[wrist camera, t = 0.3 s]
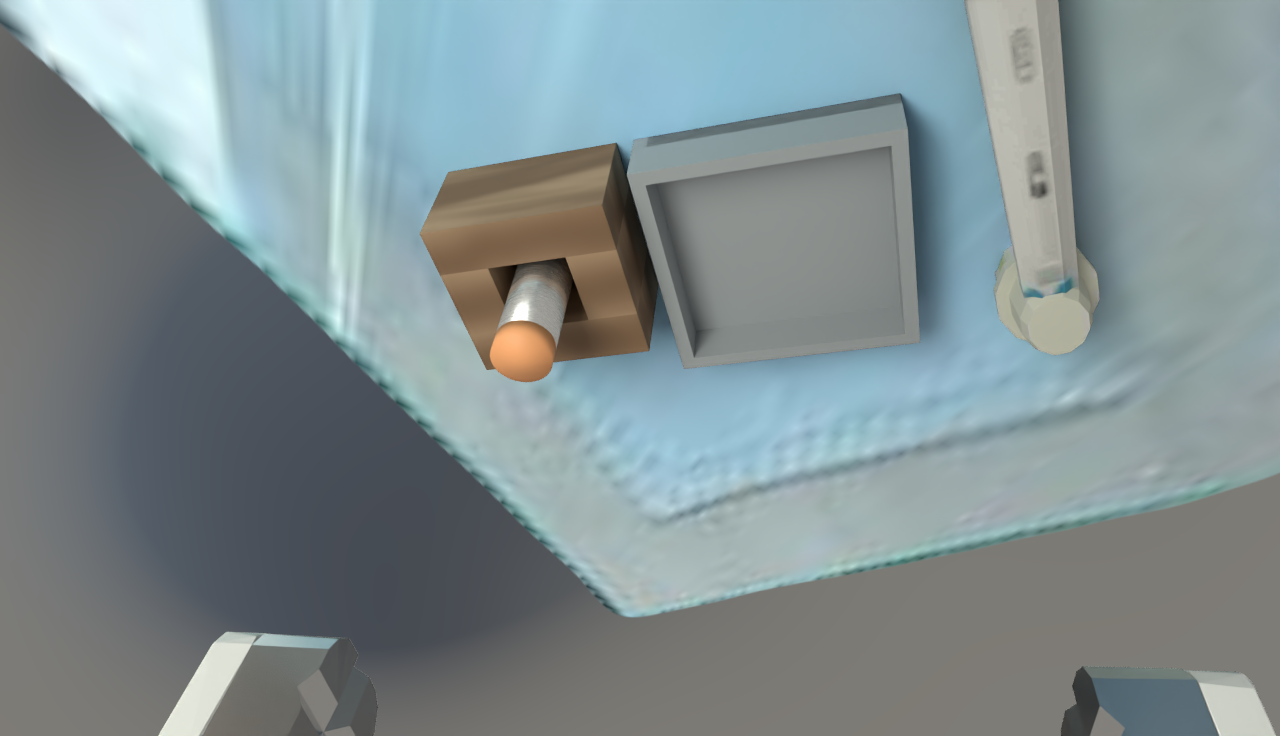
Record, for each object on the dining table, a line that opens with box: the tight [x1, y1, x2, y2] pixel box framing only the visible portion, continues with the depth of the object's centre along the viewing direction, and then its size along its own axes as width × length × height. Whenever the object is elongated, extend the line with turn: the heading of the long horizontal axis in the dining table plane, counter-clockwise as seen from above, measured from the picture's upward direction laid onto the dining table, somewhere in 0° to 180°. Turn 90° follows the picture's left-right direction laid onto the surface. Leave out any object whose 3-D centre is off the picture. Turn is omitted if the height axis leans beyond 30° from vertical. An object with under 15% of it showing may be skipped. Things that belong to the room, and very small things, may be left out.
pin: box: [490, 257, 573, 382], centre depth 51 cm, size 3×3×11 cm
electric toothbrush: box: [964, 0, 1100, 355], centre depth 46 cm, size 5×7×25 cm
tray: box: [627, 94, 920, 369], centre depth 51 cm, size 14×14×4 cm
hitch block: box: [420, 143, 658, 370], centre depth 52 cm, size 10×10×6 cm
